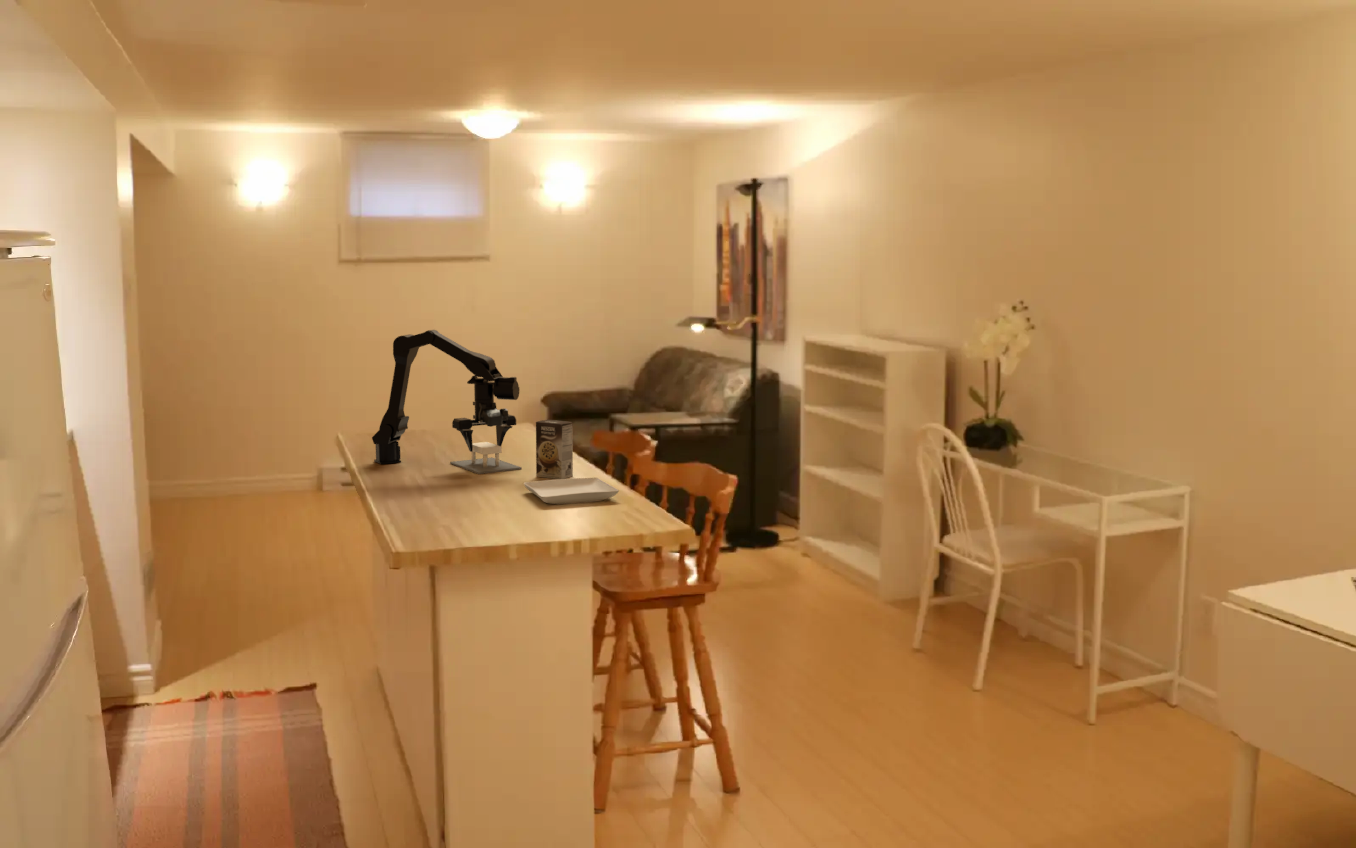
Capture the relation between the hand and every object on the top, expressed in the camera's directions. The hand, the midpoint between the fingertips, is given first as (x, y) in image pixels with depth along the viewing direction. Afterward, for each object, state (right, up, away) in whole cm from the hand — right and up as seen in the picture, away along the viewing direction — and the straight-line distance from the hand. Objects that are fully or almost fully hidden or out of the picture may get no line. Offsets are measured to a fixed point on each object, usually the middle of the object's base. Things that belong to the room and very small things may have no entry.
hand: (485, 450), depth 360 cm
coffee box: (+22, -8, -14) cm, 27 cm away
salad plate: (+30, -12, -41) cm, 52 cm away
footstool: (0, -4, +1) cm, 4 cm away
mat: (0, -5, +1) cm, 5 cm away
